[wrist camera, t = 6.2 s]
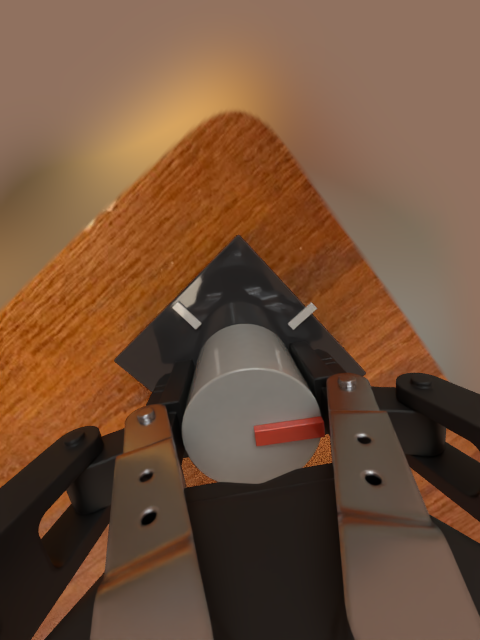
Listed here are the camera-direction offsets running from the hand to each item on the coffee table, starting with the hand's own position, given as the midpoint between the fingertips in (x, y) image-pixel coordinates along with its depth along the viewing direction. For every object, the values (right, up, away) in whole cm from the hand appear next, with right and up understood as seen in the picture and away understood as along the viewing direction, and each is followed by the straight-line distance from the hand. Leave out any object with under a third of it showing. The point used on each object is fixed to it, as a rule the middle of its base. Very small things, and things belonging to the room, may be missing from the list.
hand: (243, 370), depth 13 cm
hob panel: (0, +1, +3) cm, 3 cm away
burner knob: (0, 0, 0) cm, 0 cm away
